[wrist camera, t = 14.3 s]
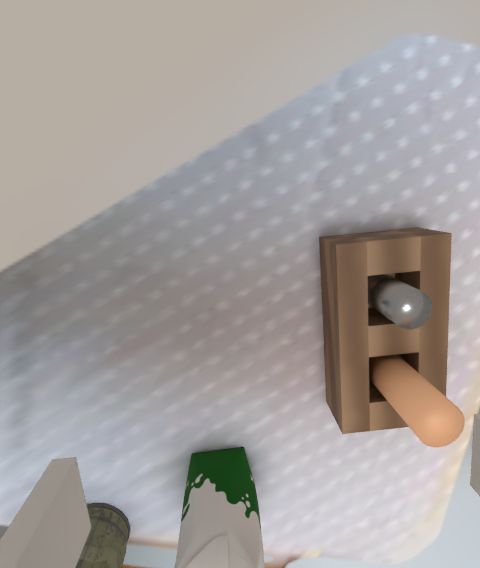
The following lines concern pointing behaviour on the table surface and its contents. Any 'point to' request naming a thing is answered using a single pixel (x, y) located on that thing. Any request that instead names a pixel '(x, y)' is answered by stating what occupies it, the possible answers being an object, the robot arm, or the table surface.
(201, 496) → the milk carton
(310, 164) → the table surface
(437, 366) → the hole block
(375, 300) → the steel pin
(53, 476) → the robot arm
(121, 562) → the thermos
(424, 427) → the peg
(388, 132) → the table surface
